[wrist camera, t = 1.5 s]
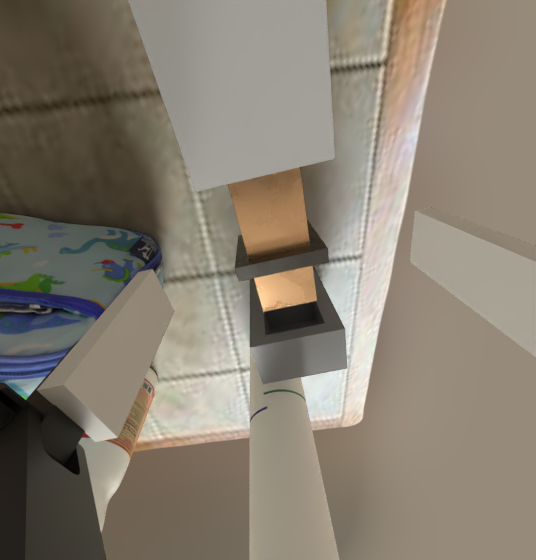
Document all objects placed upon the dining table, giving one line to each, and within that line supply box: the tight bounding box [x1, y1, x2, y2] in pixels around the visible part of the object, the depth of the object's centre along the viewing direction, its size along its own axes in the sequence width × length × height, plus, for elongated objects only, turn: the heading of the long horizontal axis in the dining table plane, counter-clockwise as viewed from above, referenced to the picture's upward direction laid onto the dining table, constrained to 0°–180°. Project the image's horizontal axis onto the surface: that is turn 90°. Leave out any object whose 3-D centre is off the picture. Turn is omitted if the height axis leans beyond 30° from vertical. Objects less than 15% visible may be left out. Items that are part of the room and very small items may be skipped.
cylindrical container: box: [250, 349, 339, 560], centre depth 29 cm, size 7×7×25 cm
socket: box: [250, 266, 347, 384], centre depth 29 cm, size 6×9×13 cm, turn 102°
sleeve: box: [128, 0, 335, 192], centre depth 18 cm, size 9×9×13 cm
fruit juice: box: [79, 367, 158, 532], centre depth 29 cm, size 9×9×28 cm
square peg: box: [228, 167, 329, 312], centre depth 19 cm, size 21×7×7 cm, turn 12°
